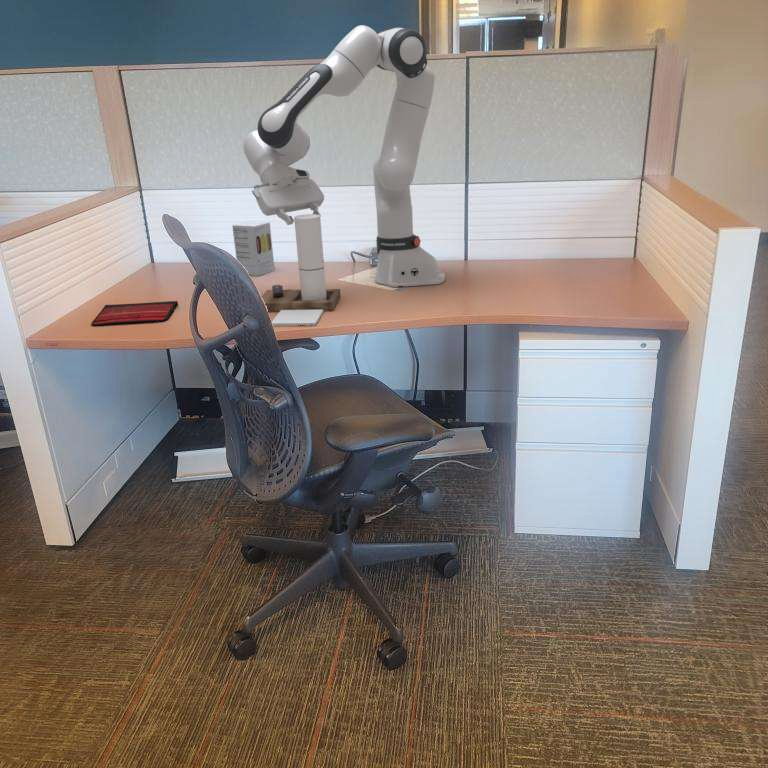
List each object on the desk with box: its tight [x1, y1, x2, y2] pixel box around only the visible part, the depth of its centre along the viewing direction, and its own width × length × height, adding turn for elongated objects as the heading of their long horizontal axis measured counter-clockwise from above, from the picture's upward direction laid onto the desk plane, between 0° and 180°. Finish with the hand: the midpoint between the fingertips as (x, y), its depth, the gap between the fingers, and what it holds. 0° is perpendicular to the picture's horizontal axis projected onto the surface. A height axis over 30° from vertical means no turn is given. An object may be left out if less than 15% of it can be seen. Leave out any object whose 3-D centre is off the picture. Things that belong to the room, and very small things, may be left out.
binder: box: [90, 300, 179, 327], centre depth 192 cm, size 16×2×21 cm
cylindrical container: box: [293, 213, 328, 301], centre depth 190 cm, size 7×7×25 cm
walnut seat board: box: [261, 284, 341, 313], centre depth 195 cm, size 22×14×6 cm, turn 85°
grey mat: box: [271, 309, 325, 327], centre depth 182 cm, size 12×12×1 cm
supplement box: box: [231, 220, 276, 277], centre depth 231 cm, size 10×9×17 cm
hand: (304, 220), depth 187 cm, fingers open, 8 cm apart
